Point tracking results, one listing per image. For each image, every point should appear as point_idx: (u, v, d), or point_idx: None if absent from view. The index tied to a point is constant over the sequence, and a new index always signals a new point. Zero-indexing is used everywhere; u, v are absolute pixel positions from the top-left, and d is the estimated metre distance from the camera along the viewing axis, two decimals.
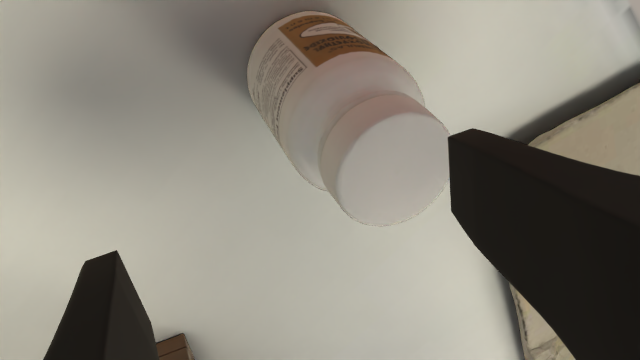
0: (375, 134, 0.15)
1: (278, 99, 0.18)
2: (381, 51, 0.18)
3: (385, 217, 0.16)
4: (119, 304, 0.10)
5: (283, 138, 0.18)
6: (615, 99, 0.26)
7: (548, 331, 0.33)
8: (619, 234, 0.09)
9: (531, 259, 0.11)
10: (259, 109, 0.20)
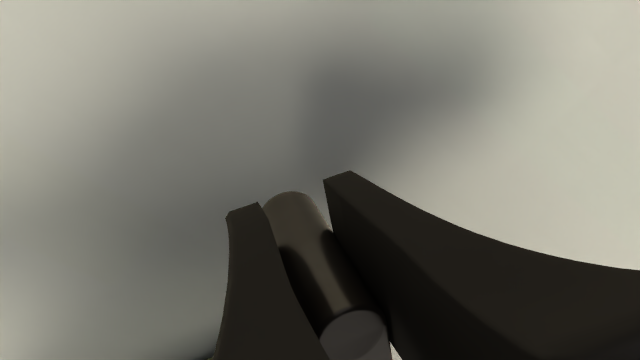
0: None
1: None
2: None
3: None
4: None
5: None
6: None
7: None
8: (444, 305, 0.08)
9: (394, 313, 0.11)
10: None
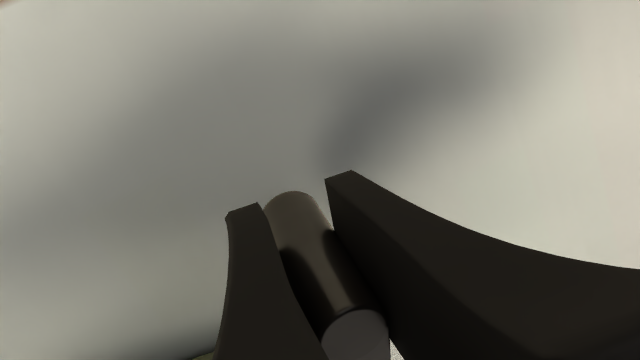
0: None
1: None
2: None
3: None
4: None
5: None
6: None
7: None
8: (446, 304, 0.08)
9: (396, 313, 0.11)
10: None
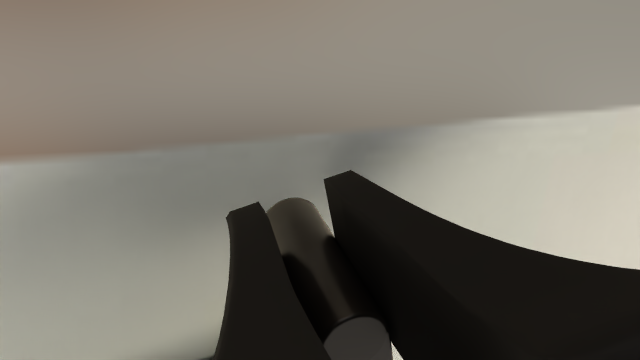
0: None
1: None
2: None
3: None
4: None
5: None
6: None
7: None
8: (445, 305, 0.08)
9: (395, 313, 0.11)
10: None
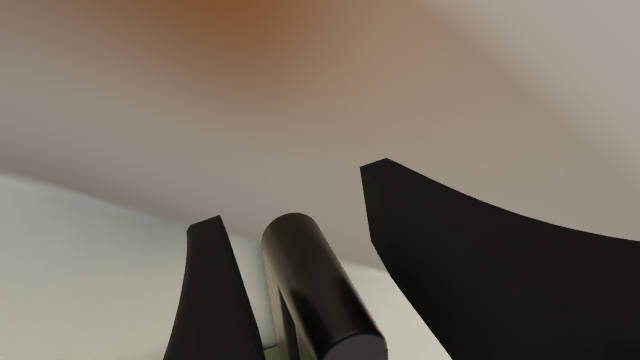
0: None
1: None
2: None
3: None
4: (234, 263, 0.11)
5: None
6: None
7: None
8: (496, 283, 0.08)
9: (435, 297, 0.11)
10: None
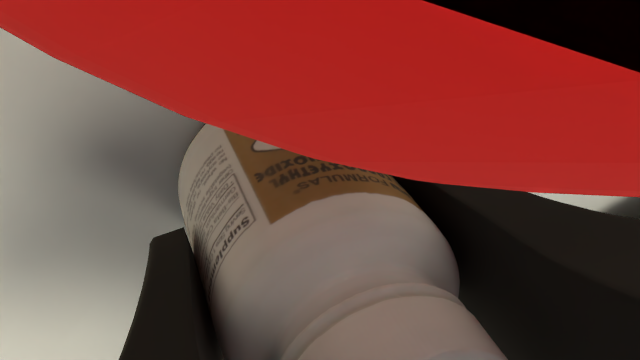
0: None
1: (211, 266, 0.10)
2: (385, 180, 0.11)
3: None
4: (194, 277, 0.10)
5: (217, 336, 0.10)
6: None
7: None
8: (537, 268, 0.08)
9: (466, 285, 0.11)
10: None
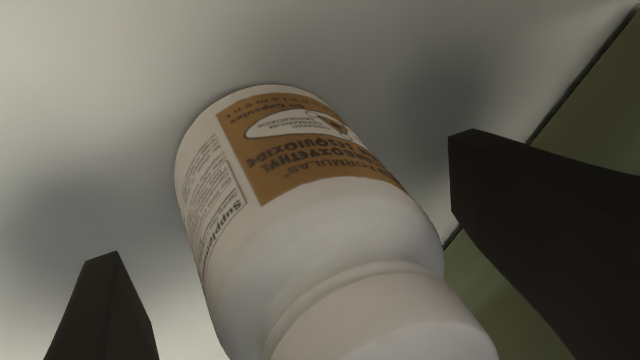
0: None
1: (204, 248, 0.11)
2: (373, 166, 0.11)
3: None
4: (119, 304, 0.10)
5: (211, 315, 0.11)
6: None
7: None
8: (619, 234, 0.09)
9: (531, 259, 0.11)
10: None
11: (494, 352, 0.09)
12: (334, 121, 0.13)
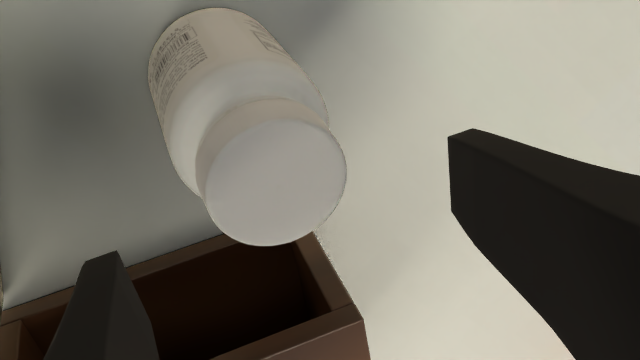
0: (327, 206, 0.15)
1: None
2: None
3: (260, 138, 0.13)
4: (119, 304, 0.10)
5: None
6: None
7: None
8: (618, 234, 0.09)
9: (531, 259, 0.11)
10: None
11: (241, 241, 0.14)
12: None
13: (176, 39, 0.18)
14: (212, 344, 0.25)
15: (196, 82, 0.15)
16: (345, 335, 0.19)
